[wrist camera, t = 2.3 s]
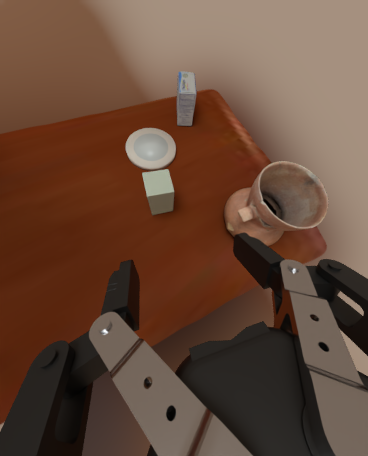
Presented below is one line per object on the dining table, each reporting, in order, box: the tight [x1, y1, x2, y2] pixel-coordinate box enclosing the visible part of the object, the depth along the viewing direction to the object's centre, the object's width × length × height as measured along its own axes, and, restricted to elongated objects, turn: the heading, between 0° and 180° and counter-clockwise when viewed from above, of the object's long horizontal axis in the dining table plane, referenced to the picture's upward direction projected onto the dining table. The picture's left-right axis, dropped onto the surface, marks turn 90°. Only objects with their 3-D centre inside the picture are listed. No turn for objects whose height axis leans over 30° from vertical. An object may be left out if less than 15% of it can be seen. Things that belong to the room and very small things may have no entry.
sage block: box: [142, 169, 174, 215], centre depth 32 cm, size 5×5×9 cm
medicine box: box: [177, 72, 196, 126], centre depth 41 cm, size 8×4×9 cm, turn 2°
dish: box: [126, 128, 176, 171], centre depth 39 cm, size 13×13×1 cm
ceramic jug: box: [224, 161, 328, 246], centre depth 30 cm, size 18×14×14 cm
